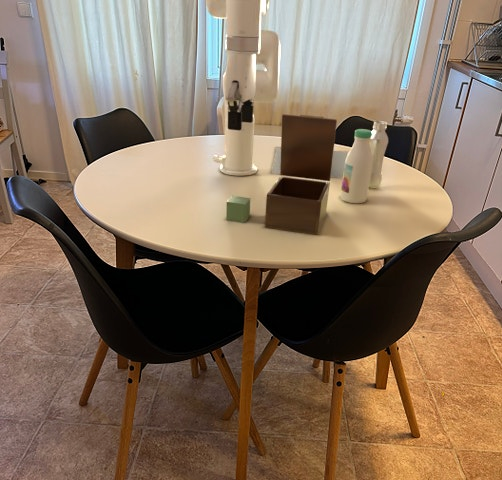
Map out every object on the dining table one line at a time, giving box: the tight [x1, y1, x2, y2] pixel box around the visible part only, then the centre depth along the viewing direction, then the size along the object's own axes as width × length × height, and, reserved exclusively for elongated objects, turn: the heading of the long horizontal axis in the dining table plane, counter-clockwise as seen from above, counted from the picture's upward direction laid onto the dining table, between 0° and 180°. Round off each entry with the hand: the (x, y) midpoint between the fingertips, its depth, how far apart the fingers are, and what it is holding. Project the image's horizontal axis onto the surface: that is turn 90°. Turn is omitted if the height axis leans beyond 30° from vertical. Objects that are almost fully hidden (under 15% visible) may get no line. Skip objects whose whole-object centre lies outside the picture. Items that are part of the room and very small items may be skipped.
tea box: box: [264, 175, 331, 236], centre depth 125 cm, size 16×14×9 cm
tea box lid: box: [279, 113, 338, 182], centre depth 125 cm, size 16×14×6 cm
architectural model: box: [270, 146, 349, 179], centre depth 172 cm, size 35×28×14 cm
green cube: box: [225, 195, 251, 223], centre depth 125 cm, size 5×5×5 cm
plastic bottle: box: [369, 120, 389, 189], centre depth 148 cm, size 6×7×20 cm
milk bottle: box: [340, 128, 373, 204], centre depth 137 cm, size 8×8×20 cm
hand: (240, 125), depth 114 cm, fingers open, 9 cm apart
